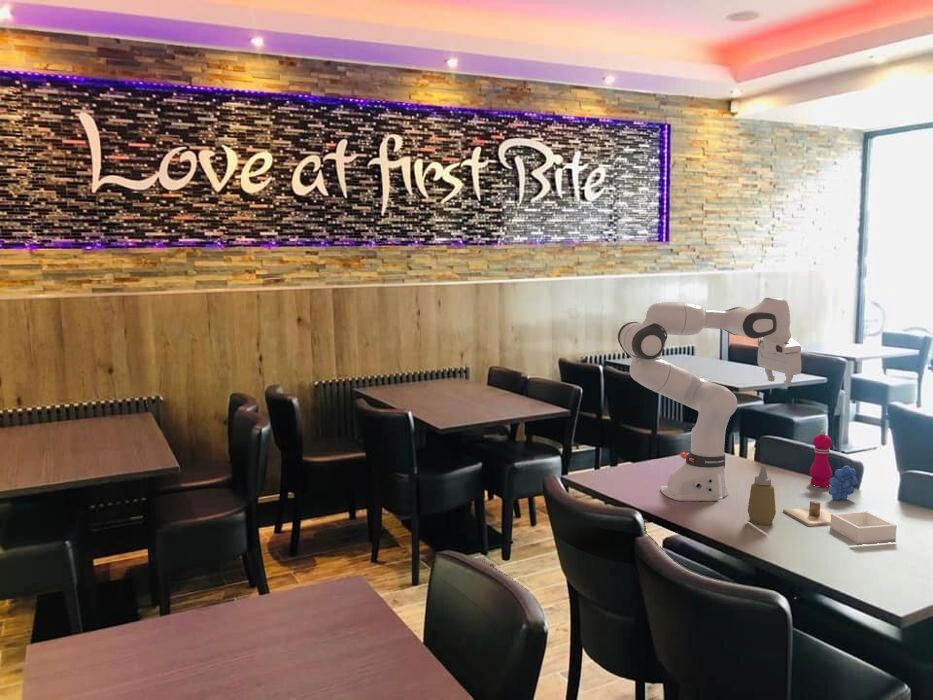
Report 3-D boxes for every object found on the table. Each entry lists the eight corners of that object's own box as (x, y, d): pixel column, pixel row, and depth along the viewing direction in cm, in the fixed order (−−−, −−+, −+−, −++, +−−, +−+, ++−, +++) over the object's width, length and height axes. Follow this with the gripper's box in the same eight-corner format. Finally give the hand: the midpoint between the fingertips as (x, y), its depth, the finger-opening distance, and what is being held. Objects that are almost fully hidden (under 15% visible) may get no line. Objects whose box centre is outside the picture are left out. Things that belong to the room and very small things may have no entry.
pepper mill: (833, 488, 256) (836, 433, 254) (812, 487, 258) (814, 432, 255) (828, 482, 263) (830, 428, 261) (806, 481, 265) (809, 427, 262)
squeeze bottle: (762, 529, 218) (765, 471, 216) (741, 521, 225) (743, 465, 223) (781, 525, 222) (783, 468, 219) (759, 517, 229) (761, 461, 227)
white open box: (857, 545, 206) (858, 528, 205) (830, 529, 217) (831, 513, 217) (895, 542, 207) (896, 525, 207) (866, 527, 219) (866, 511, 219)
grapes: (844, 494, 249) (846, 460, 248) (861, 500, 243) (863, 466, 241) (818, 498, 245) (820, 464, 244) (834, 505, 239) (836, 469, 238)
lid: (808, 526, 219) (809, 511, 218) (782, 511, 231) (783, 497, 231) (847, 523, 221) (848, 508, 220) (819, 509, 234) (820, 494, 233)
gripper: (751, 341, 258) (753, 379, 260) (787, 349, 238) (789, 390, 240) (767, 339, 259) (769, 376, 261) (804, 346, 239) (806, 387, 241)
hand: (779, 383), depth 251 cm, fingers open, 8 cm apart
